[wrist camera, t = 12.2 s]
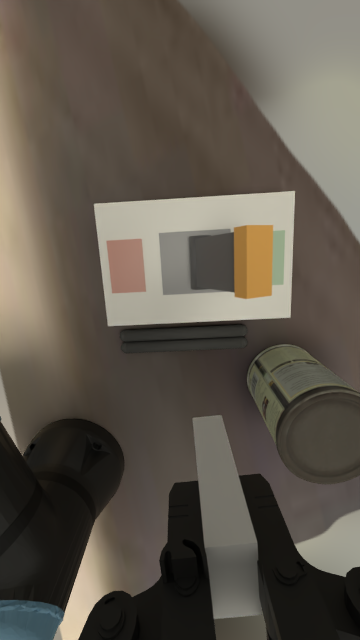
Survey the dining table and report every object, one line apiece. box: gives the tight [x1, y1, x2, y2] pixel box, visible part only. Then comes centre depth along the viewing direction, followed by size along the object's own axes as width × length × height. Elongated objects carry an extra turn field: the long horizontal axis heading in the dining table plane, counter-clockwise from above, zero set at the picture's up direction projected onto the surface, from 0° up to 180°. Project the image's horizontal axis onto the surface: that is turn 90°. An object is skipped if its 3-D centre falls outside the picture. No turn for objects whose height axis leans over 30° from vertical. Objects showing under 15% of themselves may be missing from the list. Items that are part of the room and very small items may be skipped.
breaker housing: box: [94, 191, 295, 326], centre depth 34 cm, size 22×14×5 cm, turn 93°
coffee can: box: [247, 344, 360, 484], centre depth 33 cm, size 10×10×14 cm
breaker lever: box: [189, 225, 273, 299], centre depth 26 cm, size 3×6×11 cm, turn 3°
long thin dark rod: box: [120, 325, 247, 353], centre depth 38 cm, size 18×3×2 cm, turn 93°
